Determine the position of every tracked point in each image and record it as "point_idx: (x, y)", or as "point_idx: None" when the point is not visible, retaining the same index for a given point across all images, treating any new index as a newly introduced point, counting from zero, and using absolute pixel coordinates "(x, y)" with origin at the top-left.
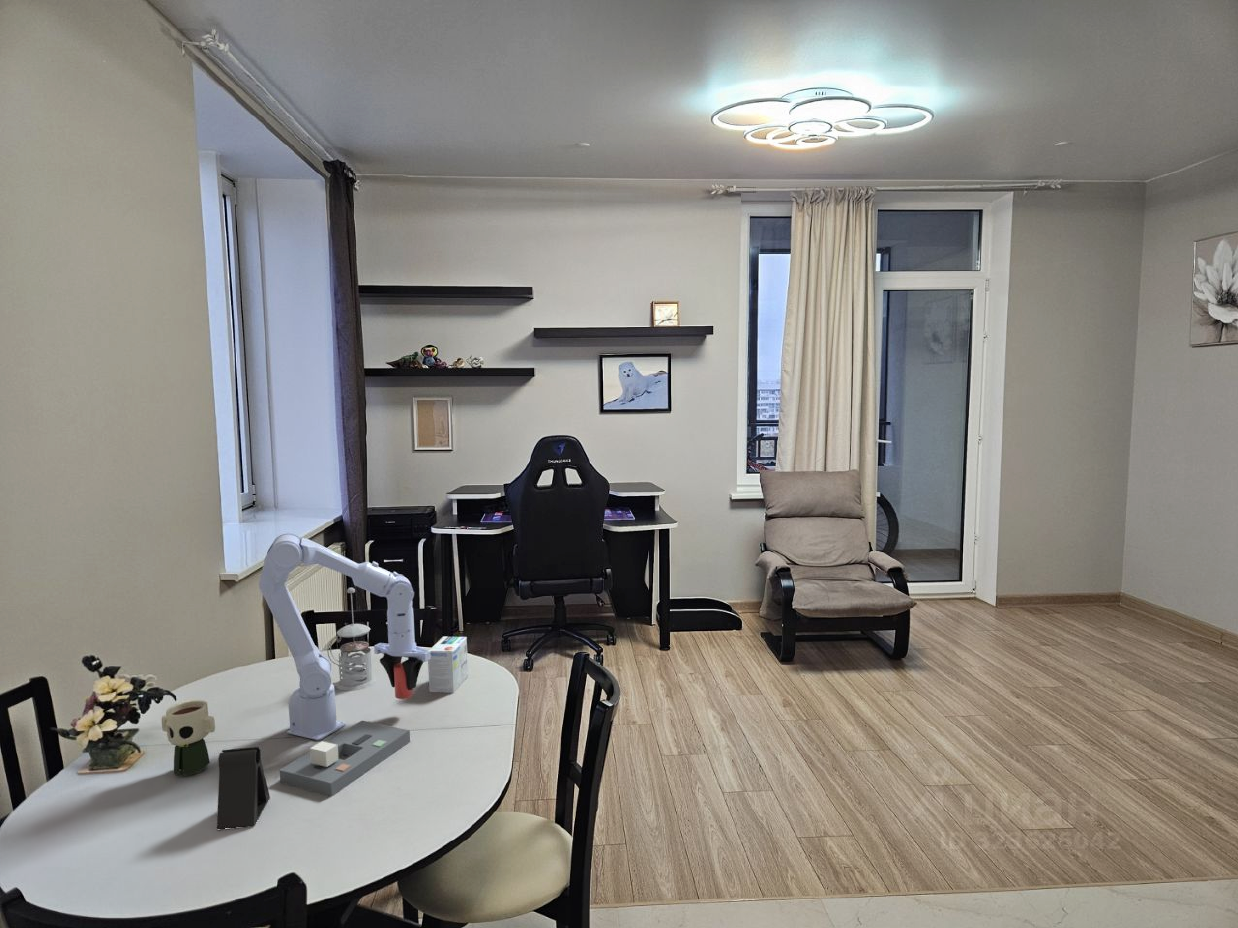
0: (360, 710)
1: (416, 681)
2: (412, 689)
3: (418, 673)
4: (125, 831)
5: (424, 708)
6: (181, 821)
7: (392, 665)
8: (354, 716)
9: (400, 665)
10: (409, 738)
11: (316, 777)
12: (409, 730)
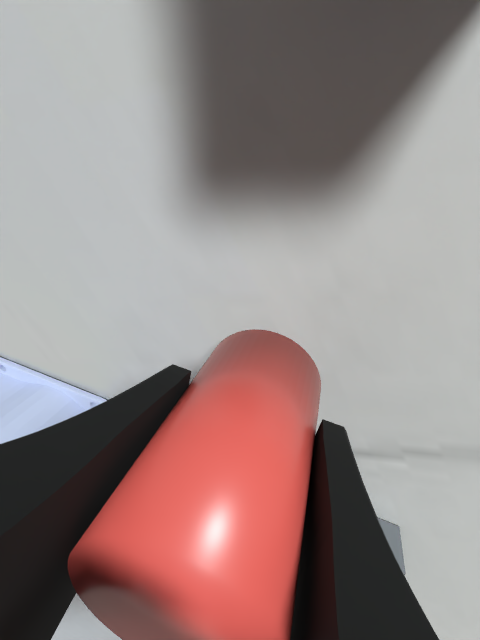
0: (77, 289)
1: (353, 461)
2: (317, 411)
3: (384, 539)
4: (59, 631)
5: (364, 251)
6: (102, 637)
7: (57, 591)
8: (92, 339)
9: (136, 599)
10: (399, 540)
11: None
12: (404, 573)
